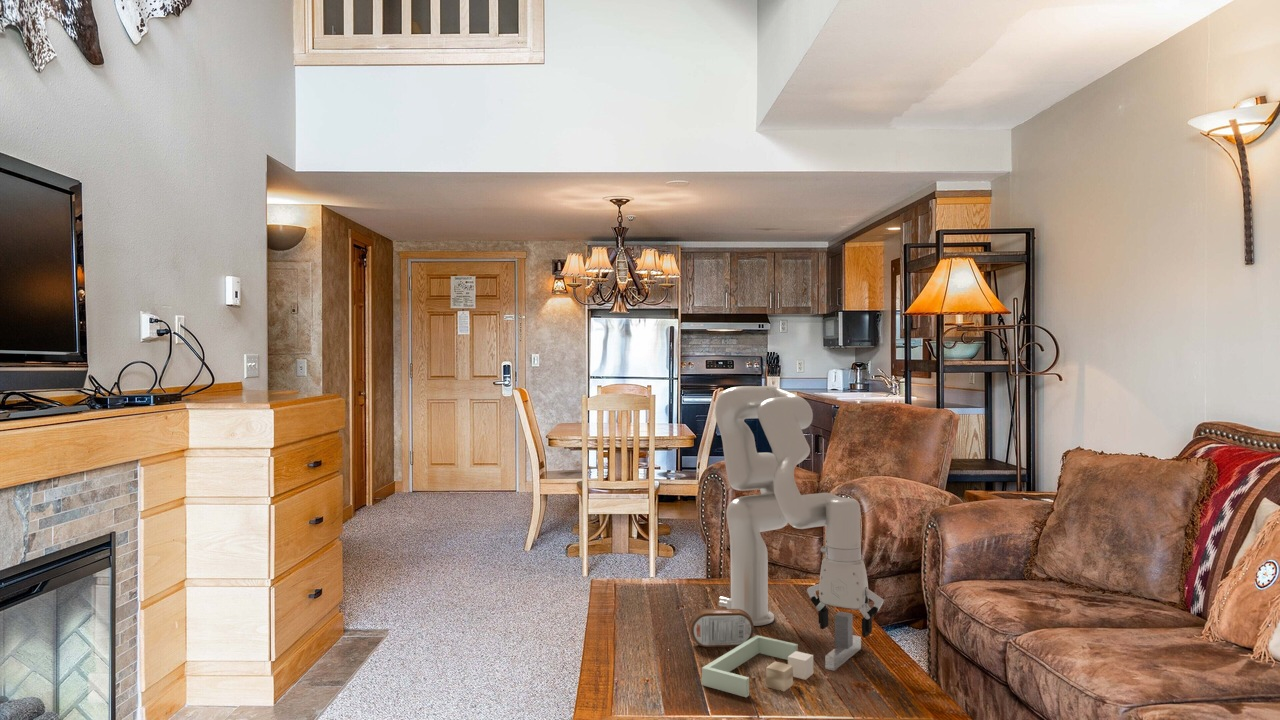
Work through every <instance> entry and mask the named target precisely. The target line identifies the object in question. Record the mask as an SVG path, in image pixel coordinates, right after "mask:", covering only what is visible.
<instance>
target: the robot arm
mask: <svg viewBox="0 0 1280 720" xmlns="http://www.w3.org/2000/svg"><path fill="white" fill-rule="evenodd" d="M715 403H716V404H715V408H714V409H715V410H714V411H715V412H714V414H715V420H716V424H717V427H718V430H719V434H720V436H721V441H722V449H723V457H724V464H725V470H726V471H725V472H726V478H727V481H728V484H729V486H730V487H731V488H732V489H733V490H736V491H741V492H742V491H743V492H745V491H754V490H760V494H751V495H744V496H739V497H736V498H735V499H733V500H732V501H730V502H729V504H728V505H727V507H726V512H725V513H726V522H727V526H728V527H727V529H728V532H729V542H730V543H729V545H730V547H729V548H730V550H729V551H730V598H729V597H726V596H719V599H718V606H719V607H725V609H741V610H743V611H745V612H747V613H748V614H749V616H750V617H751V619H752V622H753V625H754V627H759V626H761V627H762V626H767V625H769V624H771V623H773V622H774V619H775V614H774V613H773V612H772V611H770V610H769V594H768V593H769V576H768V575H769V569H768V566H769V564H768V563H769V561H768V559H769V558H768V557H769V556H768V555H769V554H768V548H767V545H766V542H765V541H764V539H763V537H762V535H761V533H763V532H768V531H774V530H775V531H776V530H779V529H780V530H781V529H783V528H785V526H787V525H788V524H789V525H790V526H792V528H795V529H798V530H799V529H800V530H804V529H811V528H819V527H825V545H822V546H820V552H821V553H824V555H825V557H824V558H822V561H821V565H820V566H821V567H820V574H819V582H818V583H817V584H814V585H812V586H809V587H808V588H806V592H807V594H808V596H809V598H810V601H811V603H812V604H813V605H814V606H815V609H816V610H817V613H818V624H819V627H820V628H819V629H820V630H824V629H826V628H828V626H829V608H828V607H827V606H831V607H835V608H836V607H837V608H840V609H841V608H842V609H847V610H853V611H857V610H858V611H859V612H860V613H861V615H862V616H863V618H861V637H863V638H866V637H868V636H869V635H870V634H871V633H872V631H873V623H872V621H873V620H872V619H873V616H875V615H876V613H878V612H879V611H880V609H881V607H882V606H883V604H884V601H885V600H884V598H882V597H880V595H878V594H876V593H875V592H873V591H872V590H871V589H869V583H868V582H869V580H868V575H867V569H866V565H865V561H864V560H862V543H861V542H862V541H861V539H862V537H861V535H862V534H861V531H862V530H861V505H860V502H859V501H858V500H857V499H855V498H851V497H842V496H838V495H836V494H834V493H831V492H819V493H818V492H817V493H807V494H802V493H800V490H799V488H798V485H797V483H796V480H795V468H796V466H797V465H799V464H800V463H802V462H803V461H804V460H806V459H807V458H808V457H809V455H810V452H811V448H810V445H809V443H808V441H807V439H806V437H805V434H804V433H803V430H805V429H807V428H809V427H810V425H811V424H812V422H813V418H814V414H813V409H812V406H811V405H810V403H809V402H808V401H807V400H806V399H805V398H803V397H802V396H800V395H797V394H795V393H793V392H790V391H787V390H784V389H782V388H780V387H778V386H772V385H758V386H757V385H741V386H733V387H730V388H727V389H724V390H723V391H722V392H721V393H720V394H719V396H718V397H717V399H716V402H715ZM748 419H758V421H759V423H760V426H761V428H762V430H763V432H764V435H765V437H766V439H767V441H768V443H769V446H770V448H771V451H772V452H758V451H757V447H756V441H755V440H756V439H755V435H754V433H753V431H752V430H751V428H750V426H749V425H748V424H747V423H746V422H745V420H748ZM817 591H818V595H817ZM870 600H871V601H872V602H873V603H874V604H873V606H872V607H870V606H869V601H870Z"/></svg>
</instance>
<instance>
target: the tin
mask: <svg viewBox="0 0 1280 720" xmlns="http://www.w3.org/2000/svg"><path fill="white" fill-rule="evenodd" d="M688 628H689V633H690V635H691V637H692V639H693V641H694V642H695V643H696V644H697V645H698V646H701V647H703V648H727V647H728V648H731V647H733V648H736V647H737V646H739V645H741V644H743V643H744V642H746V641H748V640H749V639H751V638H753V637H754V636H753V635H754V633H755V626H754V625H753V622H752V619H751V617H750V616H749V614H748V613H747V612H745V611H743V610H741V609H727V608H704V609H700V610H698V611H697V612H695V613H694V614H693V616H692V617H691V618H690V620H689V627H688Z"/></svg>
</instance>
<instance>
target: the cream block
mask: <svg viewBox="0 0 1280 720" xmlns="http://www.w3.org/2000/svg"><path fill="white" fill-rule="evenodd" d="M787 664H788V665H792V666H793V677H794V678H797V679H801V680H805V681H806V680H807V679H808V678H810V677H811V676H813V674H814V654H810V653H806V652H802V651H799V650H798V651H795V652H794V653H792V654H791V655H789V656H788V660H787Z"/></svg>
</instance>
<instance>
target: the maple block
mask: <svg viewBox="0 0 1280 720" xmlns="http://www.w3.org/2000/svg"><path fill="white" fill-rule="evenodd" d="M765 670H766V671H765V678H766V679H765V685H766V688H769V689H773V690H777V691H780V690H781V692H786V691H787V690H788V689H790V688H791V687H792V686H793V685H794V678H793V666H792V665H788V663H787V664H786V663H783V662H779V661H775V660H774V661H773V662H772V663H771V664H768V666H766V668H765Z"/></svg>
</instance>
